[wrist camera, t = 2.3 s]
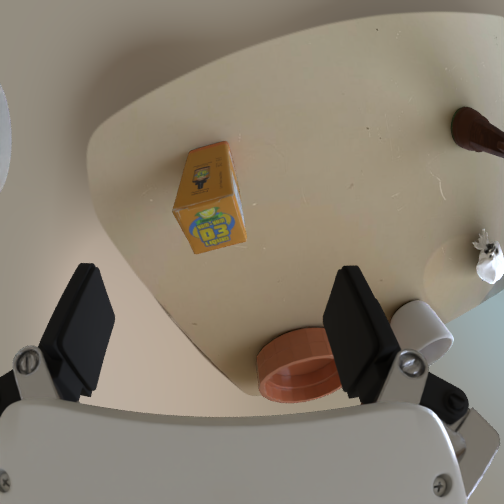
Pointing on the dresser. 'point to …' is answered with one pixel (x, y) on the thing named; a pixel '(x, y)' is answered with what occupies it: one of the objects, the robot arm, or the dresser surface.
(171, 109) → the dresser surface
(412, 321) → the cup
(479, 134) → the chess piece
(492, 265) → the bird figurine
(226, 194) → the supplement box
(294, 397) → the bowl
